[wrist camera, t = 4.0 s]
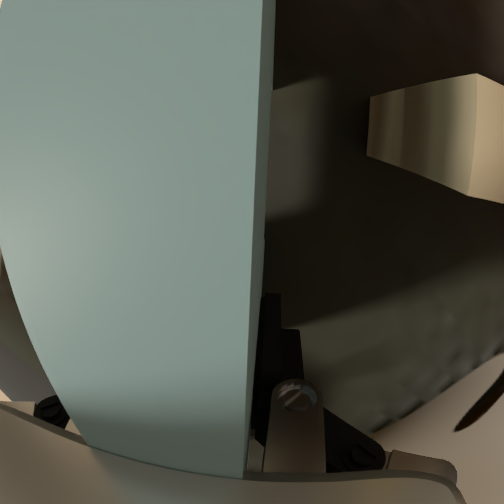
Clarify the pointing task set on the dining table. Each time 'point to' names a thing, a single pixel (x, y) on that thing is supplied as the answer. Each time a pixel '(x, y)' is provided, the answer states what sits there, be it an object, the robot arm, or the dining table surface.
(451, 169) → the birch slotted plate
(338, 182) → the dining table surface
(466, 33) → the dining table surface
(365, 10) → the dining table surface
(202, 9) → the teal slotted plate
